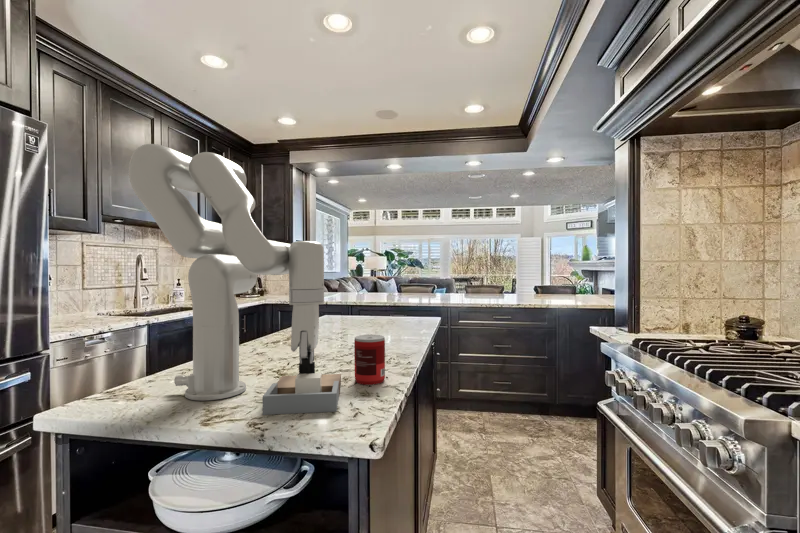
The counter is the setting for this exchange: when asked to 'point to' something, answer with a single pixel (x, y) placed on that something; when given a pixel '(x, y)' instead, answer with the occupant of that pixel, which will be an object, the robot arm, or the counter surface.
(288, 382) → the board
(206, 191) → the robot arm
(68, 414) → the counter surface
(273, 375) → the counter surface
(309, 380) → the tile block
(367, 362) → the canned food
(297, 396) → the box
